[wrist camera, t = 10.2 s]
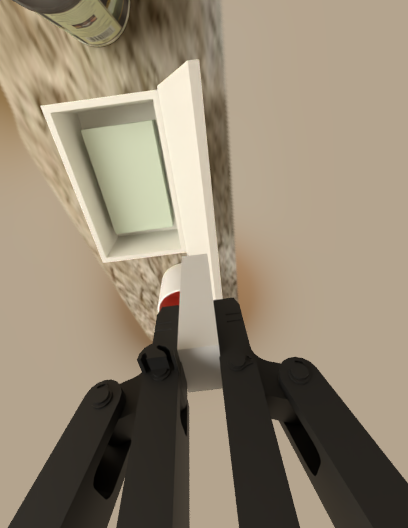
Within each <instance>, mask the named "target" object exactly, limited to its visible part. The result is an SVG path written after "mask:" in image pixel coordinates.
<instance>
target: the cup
mask: <svg viewBox="0 0 408 528" xmlns="http://www.w3.org/2000/svg"><path fill="white" fill-rule="evenodd" d="M180 283H181V263H180V264H176V265H174V266H172V267H170V268H169V269H168V270H167V271H166V272H165V274H164V276H163V279H162V284H161V291H160V297H159V303H158V313H159V311H160V310H161V308H162V307H166V306H175V305H179V303H180Z"/></svg>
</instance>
